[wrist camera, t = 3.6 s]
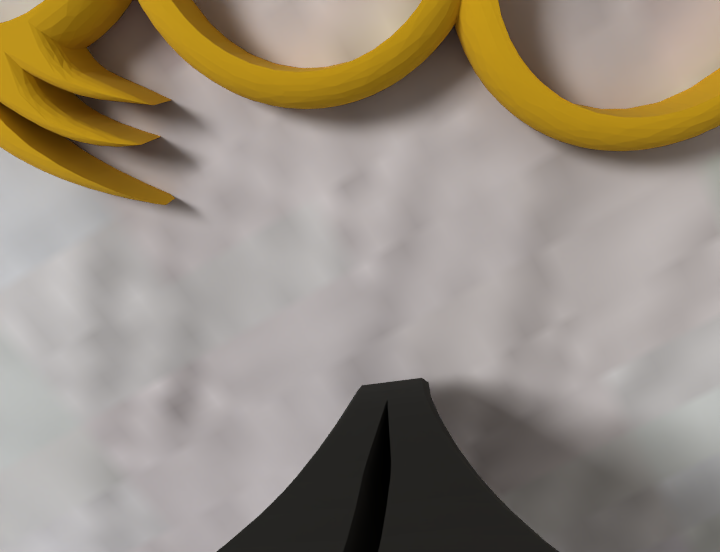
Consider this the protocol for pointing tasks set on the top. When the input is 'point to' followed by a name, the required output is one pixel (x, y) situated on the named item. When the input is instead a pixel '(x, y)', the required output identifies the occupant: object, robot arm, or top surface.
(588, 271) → the top surface
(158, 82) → the top surface
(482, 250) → the top surface
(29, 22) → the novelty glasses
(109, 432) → the top surface
